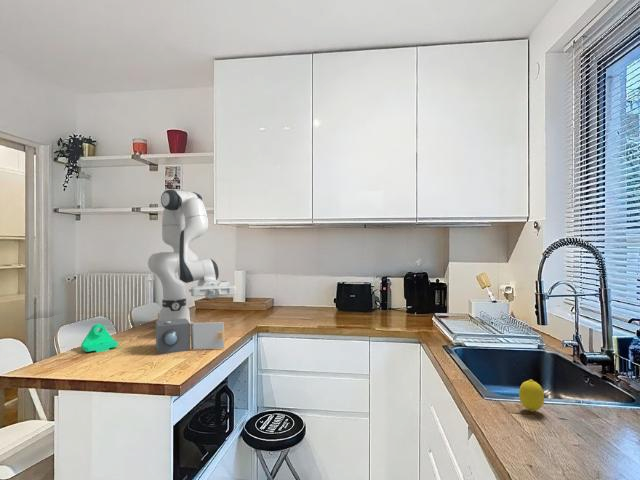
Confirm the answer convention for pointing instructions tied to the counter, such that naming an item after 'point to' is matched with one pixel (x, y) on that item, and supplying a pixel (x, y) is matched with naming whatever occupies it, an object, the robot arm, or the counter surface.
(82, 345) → the camera mount
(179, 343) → the camera housing
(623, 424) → the counter surface
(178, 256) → the robot arm
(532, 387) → the lemon
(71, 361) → the counter surface
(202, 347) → the side door
